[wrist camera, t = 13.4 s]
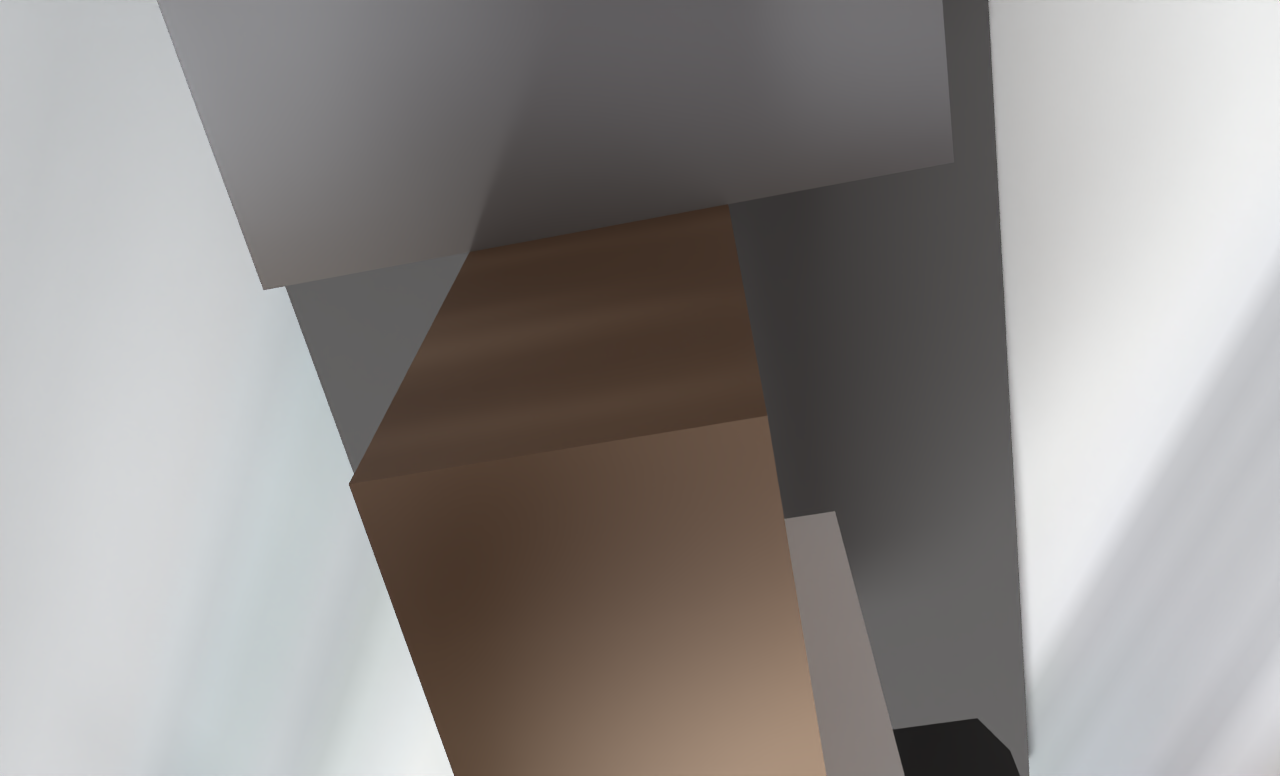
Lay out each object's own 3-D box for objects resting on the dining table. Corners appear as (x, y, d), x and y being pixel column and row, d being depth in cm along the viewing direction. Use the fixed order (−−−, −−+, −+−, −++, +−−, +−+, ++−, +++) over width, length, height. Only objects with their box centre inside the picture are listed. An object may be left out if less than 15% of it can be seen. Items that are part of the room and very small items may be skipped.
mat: (494, 837, 25) (492, 851, 24) (-107, -825, 13) (-130, -844, 12) (1023, 767, 24) (1029, 781, 23) (917, -1138, 12) (925, -1170, 11)
